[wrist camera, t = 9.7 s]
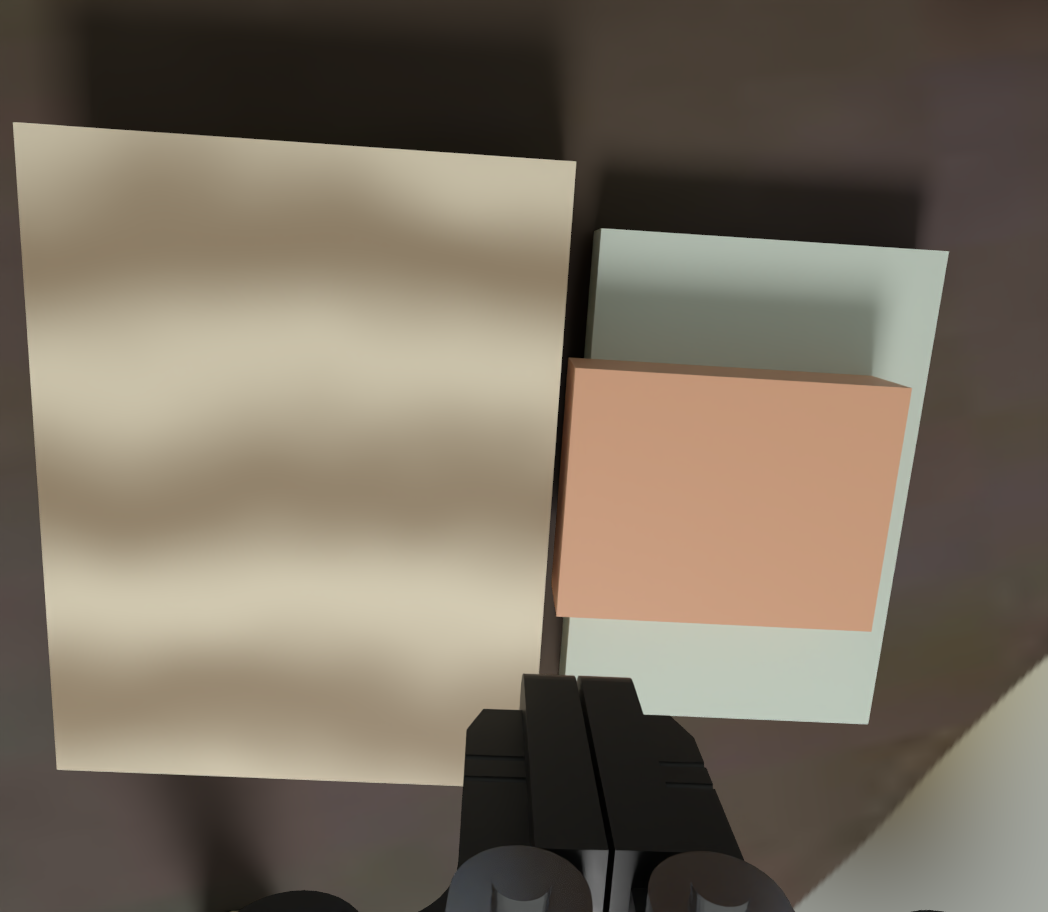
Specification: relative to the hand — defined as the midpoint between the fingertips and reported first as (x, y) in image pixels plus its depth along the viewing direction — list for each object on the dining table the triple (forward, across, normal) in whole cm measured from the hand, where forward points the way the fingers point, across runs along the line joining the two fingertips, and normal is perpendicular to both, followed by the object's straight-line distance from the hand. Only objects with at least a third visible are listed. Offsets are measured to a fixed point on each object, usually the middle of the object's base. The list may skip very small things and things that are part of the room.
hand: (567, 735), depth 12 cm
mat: (+16, -7, 0) cm, 17 cm away
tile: (+14, -5, 0) cm, 15 cm away
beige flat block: (+16, +6, 0) cm, 17 cm away
